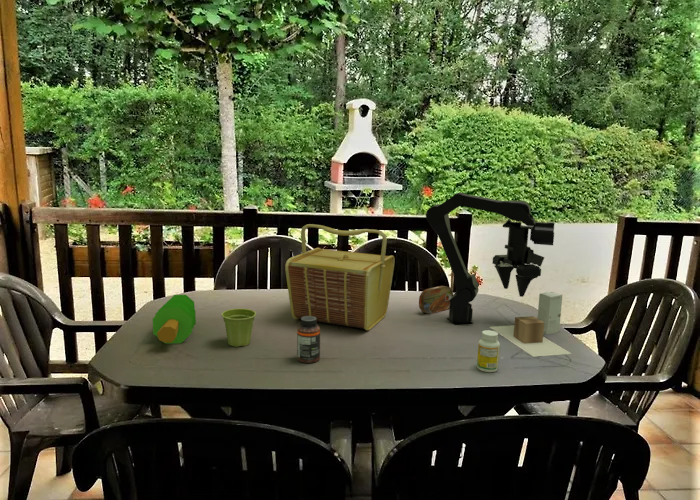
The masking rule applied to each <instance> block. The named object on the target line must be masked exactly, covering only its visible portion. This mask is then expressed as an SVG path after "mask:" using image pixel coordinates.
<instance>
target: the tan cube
mask: <svg viewBox="0 0 700 500" xmlns="http://www.w3.org/2000/svg"><path fill="white" fill-rule="evenodd" d="M513 325H514V335H513V337H515V338H516V339H518V340H519V341H521V342H523V343H524V344H525V343H540V342H543V337H544V334H545V333H544V322H543V321H541V320H539V319H537V317H535V316H533V315H531V316H515V317H514V323H513Z"/></svg>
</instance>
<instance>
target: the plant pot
mask: <svg viewBox="0 0 700 500" xmlns="http://www.w3.org/2000/svg"><path fill="white" fill-rule="evenodd" d="M256 316H257V312H256V311H255V310H253V309H249V308H233V309H232V308H231V309H228V310H224V311H222V313H221V317H222V319H223V322H224V325H225V326H224V327H225V333H226V339H227V343H228V345H229V346H231V347H237V348H238V347H241V346H243V347H246V346H248V345H250V344H251V340H252V331H253V326H254V325H253V324H254V320H255V317H256Z"/></svg>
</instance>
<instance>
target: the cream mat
mask: <svg viewBox="0 0 700 500" xmlns="http://www.w3.org/2000/svg"><path fill="white" fill-rule="evenodd" d="M489 328H490V329H492V331H495V332H497V333H498V335H500V336H502V337H503V338H505V339H506V340H508V341H509V342H511V343H512V344H514V345H516V347H518V348H520V349H521V350H523V351H524V352H525V353H527V354H528V355H530V356H531V357H533V358H534V357H544V356H546V357H547V356H560V355H572V352H570V351H568V350H567V349H565V348H563V347H561V346H560V345H558V344H556V343H555V342H553V341H551V340H550V339H548V338H546V337H545V336H543V342H540V343H525V344H524V343H523V342H521V341H519V340H518V339H516V338H515V337H513V335H514V324H513V325H498V326H495V325H494V326H489Z"/></svg>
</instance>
